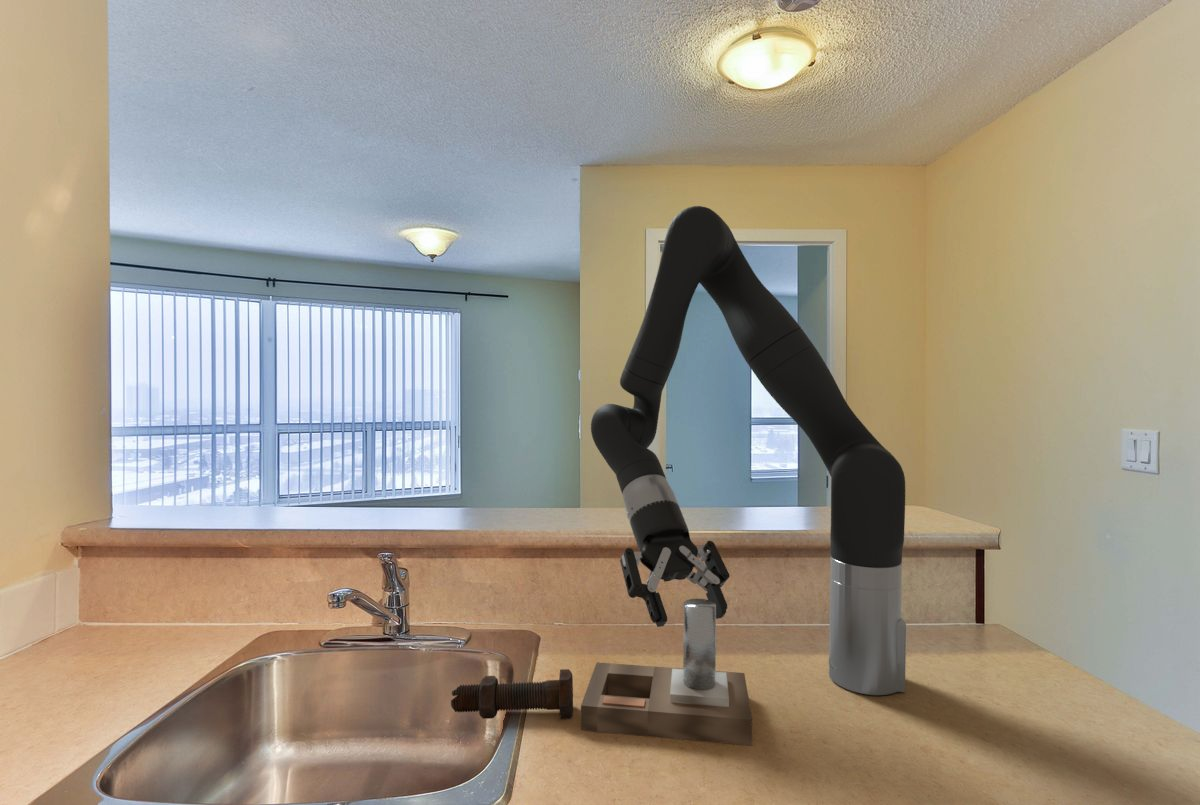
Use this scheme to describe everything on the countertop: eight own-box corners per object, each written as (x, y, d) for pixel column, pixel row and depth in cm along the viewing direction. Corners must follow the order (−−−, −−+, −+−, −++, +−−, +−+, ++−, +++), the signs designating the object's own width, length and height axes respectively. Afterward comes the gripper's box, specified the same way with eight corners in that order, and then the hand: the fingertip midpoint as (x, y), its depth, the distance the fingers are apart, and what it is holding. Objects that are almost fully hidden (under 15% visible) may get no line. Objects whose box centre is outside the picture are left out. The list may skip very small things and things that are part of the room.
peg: (714, 676, 80) (715, 599, 80) (715, 691, 76) (716, 610, 76) (683, 674, 81) (684, 597, 81) (682, 689, 77) (683, 608, 77)
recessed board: (744, 695, 84) (744, 665, 84) (752, 745, 72) (752, 711, 72) (596, 683, 87) (596, 655, 87) (580, 730, 75) (580, 697, 75)
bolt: (455, 725, 80) (573, 720, 80) (447, 724, 75) (571, 719, 75) (458, 675, 82) (572, 671, 83) (450, 671, 78) (571, 666, 78)
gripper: (615, 501, 85) (651, 613, 75) (706, 495, 90) (752, 599, 80) (601, 531, 90) (633, 640, 80) (688, 524, 96) (728, 625, 85)
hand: (692, 619), depth 80 cm, fingers open, 8 cm apart
